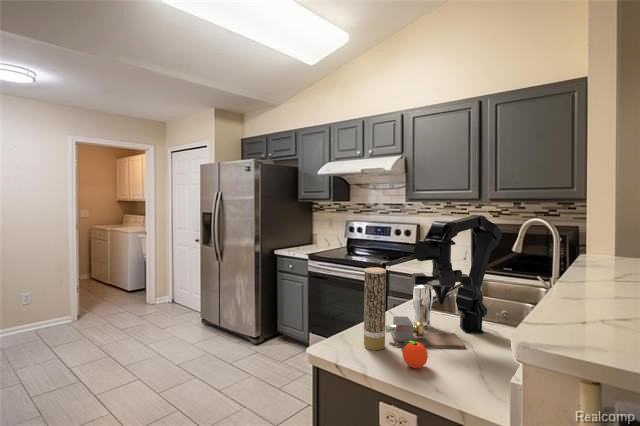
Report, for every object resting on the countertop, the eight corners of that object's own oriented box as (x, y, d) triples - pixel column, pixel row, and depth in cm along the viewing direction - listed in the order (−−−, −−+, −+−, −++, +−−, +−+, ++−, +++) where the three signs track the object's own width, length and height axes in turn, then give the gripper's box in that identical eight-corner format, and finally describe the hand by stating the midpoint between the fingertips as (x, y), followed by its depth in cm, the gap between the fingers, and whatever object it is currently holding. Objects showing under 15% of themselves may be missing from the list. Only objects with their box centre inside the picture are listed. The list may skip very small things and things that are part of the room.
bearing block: (407, 333, 120) (407, 316, 120) (412, 342, 112) (413, 325, 112) (393, 332, 121) (393, 316, 120) (397, 342, 113) (397, 324, 112)
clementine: (394, 362, 101) (395, 338, 101) (412, 357, 104) (412, 334, 104) (414, 375, 94) (415, 349, 94) (432, 369, 97) (433, 344, 97)
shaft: (420, 333, 119) (420, 320, 118) (423, 338, 114) (424, 325, 114) (385, 332, 119) (385, 319, 119) (387, 338, 114) (387, 324, 114)
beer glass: (433, 330, 126) (433, 289, 125) (413, 328, 127) (414, 288, 127) (430, 323, 133) (431, 284, 132) (412, 321, 134) (412, 283, 133)
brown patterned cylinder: (389, 346, 112) (390, 269, 111) (377, 353, 107) (378, 273, 106) (371, 340, 117) (372, 266, 116) (359, 346, 112) (360, 269, 111)
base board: (454, 335, 121) (454, 333, 121) (465, 348, 111) (465, 345, 111) (391, 334, 122) (391, 331, 122) (396, 346, 112) (396, 343, 112)
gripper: (419, 262, 109) (418, 311, 110) (480, 263, 108) (478, 312, 109) (411, 256, 120) (410, 301, 121) (466, 257, 119) (465, 302, 120)
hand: (440, 304), depth 117 cm, fingers closed
